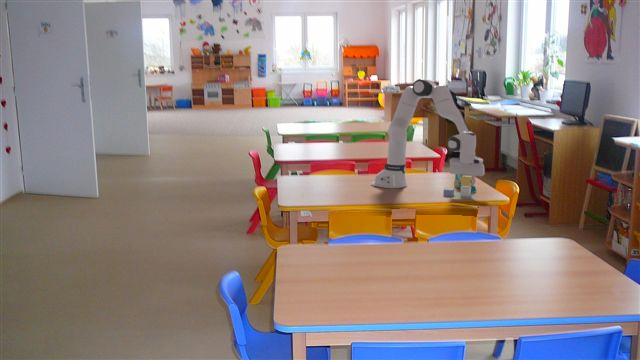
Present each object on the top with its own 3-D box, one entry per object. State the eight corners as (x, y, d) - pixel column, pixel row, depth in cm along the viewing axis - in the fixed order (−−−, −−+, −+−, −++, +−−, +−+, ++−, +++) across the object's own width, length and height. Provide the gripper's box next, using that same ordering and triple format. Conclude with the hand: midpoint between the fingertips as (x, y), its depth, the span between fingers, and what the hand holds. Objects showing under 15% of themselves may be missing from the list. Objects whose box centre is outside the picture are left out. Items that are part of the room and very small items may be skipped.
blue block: (443, 197, 390) (443, 189, 389) (445, 196, 394) (445, 187, 393) (451, 198, 388) (452, 190, 387) (453, 196, 392) (454, 188, 391)
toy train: (465, 193, 401) (467, 169, 398) (453, 188, 416) (454, 164, 413) (477, 193, 403) (479, 169, 400) (464, 187, 418) (466, 164, 415)
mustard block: (460, 185, 388) (461, 177, 387) (462, 183, 393) (463, 175, 392) (469, 186, 386) (469, 177, 385) (471, 184, 391) (471, 176, 390)
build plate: (451, 198, 388) (451, 196, 388) (456, 194, 399) (457, 192, 399) (474, 200, 383) (474, 198, 382) (478, 196, 394) (478, 194, 394)
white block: (460, 195, 389) (460, 187, 388) (462, 194, 394) (462, 185, 393) (468, 196, 387) (469, 188, 386) (470, 195, 392) (471, 186, 391)
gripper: (448, 158, 388) (447, 181, 390) (483, 161, 379) (482, 185, 382) (451, 156, 393) (449, 179, 396) (485, 159, 385) (484, 183, 388)
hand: (466, 182), depth 389 cm, fingers closed on mustard block, 5 cm apart
